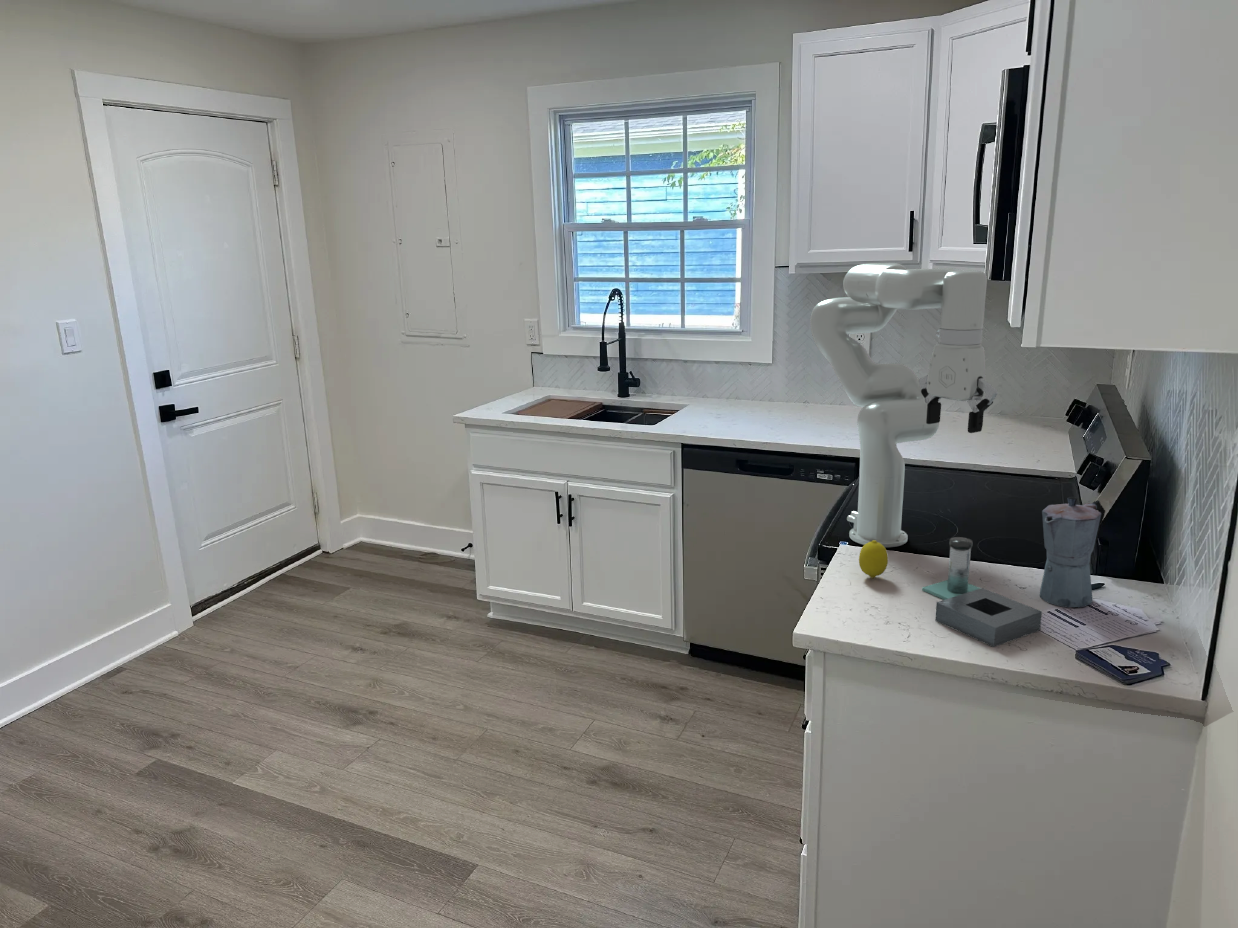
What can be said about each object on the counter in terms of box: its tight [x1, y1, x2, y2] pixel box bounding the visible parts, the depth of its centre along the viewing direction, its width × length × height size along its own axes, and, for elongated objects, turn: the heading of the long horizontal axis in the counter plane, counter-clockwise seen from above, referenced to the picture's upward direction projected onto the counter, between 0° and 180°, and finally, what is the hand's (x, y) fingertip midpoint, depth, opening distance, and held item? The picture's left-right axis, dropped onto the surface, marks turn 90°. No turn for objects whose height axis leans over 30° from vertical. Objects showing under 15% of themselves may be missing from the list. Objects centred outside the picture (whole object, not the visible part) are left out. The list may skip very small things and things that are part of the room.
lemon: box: [858, 540, 889, 579], centre depth 168 cm, size 6×6×8 cm
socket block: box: [934, 587, 1043, 648], centre depth 147 cm, size 12×12×4 cm
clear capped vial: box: [947, 536, 974, 594], centre depth 159 cm, size 4×4×10 cm
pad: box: [921, 579, 981, 600], centre depth 161 cm, size 9×9×1 cm
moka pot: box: [1039, 496, 1106, 608], centre depth 155 cm, size 10×15×20 cm, turn 119°
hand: (953, 427), depth 162 cm, fingers open, 9 cm apart
